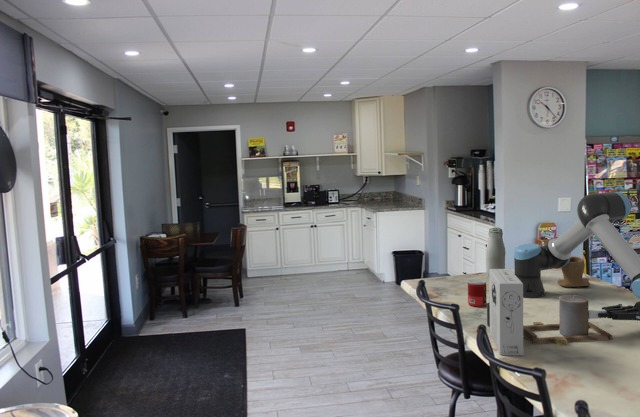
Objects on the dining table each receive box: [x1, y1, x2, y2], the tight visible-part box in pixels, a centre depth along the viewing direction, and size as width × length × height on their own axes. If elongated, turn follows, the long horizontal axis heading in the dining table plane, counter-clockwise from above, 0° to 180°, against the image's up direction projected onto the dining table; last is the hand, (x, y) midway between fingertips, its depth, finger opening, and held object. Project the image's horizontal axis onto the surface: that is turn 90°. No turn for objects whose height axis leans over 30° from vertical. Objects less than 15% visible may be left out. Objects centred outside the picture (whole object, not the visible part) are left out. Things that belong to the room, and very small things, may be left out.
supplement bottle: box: [486, 295, 490, 328], centre depth 197 cm, size 7×7×12 cm
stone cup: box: [557, 255, 591, 288], centre depth 247 cm, size 15×12×15 cm
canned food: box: [467, 278, 487, 308], centre depth 224 cm, size 8×8×11 cm
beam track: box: [523, 321, 613, 346], centre depth 185 cm, size 29×19×3 cm, turn 92°
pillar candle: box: [558, 294, 590, 337], centre depth 184 cm, size 10×10×15 cm
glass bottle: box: [485, 227, 506, 278], centre depth 268 cm, size 10×10×28 cm
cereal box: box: [488, 268, 524, 357], centre depth 178 cm, size 22×8×25 cm, turn 170°
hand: (588, 314), depth 184 cm, fingers closed
